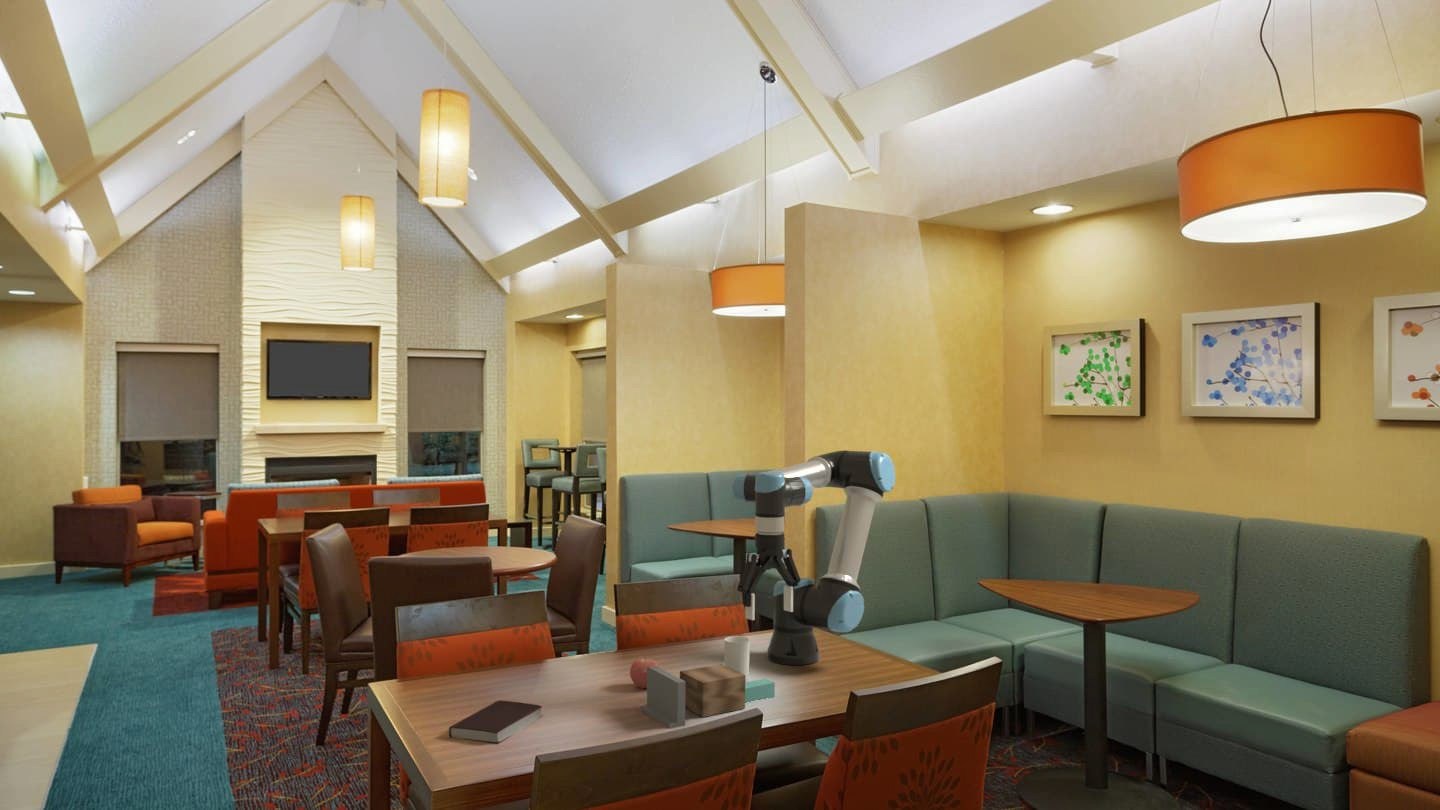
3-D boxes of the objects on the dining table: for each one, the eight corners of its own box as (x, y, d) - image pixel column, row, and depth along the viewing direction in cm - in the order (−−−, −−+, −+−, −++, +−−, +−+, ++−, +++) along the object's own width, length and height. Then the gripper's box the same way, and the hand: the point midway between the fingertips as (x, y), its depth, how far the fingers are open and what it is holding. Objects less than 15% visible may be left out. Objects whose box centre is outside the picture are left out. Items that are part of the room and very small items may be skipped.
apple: (663, 685, 236) (664, 654, 236) (650, 693, 229) (650, 662, 229) (639, 681, 239) (639, 651, 239) (624, 689, 232) (625, 658, 232)
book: (448, 739, 198) (448, 724, 198) (497, 711, 216) (497, 697, 216) (497, 747, 193) (497, 732, 193) (543, 717, 212) (543, 704, 212)
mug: (753, 687, 235) (754, 641, 235) (730, 690, 232) (730, 643, 232) (737, 676, 244) (737, 632, 244) (714, 679, 241) (715, 634, 242)
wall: (654, 706, 219) (654, 665, 219) (685, 724, 206) (685, 681, 206) (639, 709, 217) (639, 667, 217) (669, 728, 204) (670, 684, 204)
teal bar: (764, 693, 230) (765, 678, 230) (774, 698, 227) (774, 682, 227) (720, 703, 222) (720, 687, 223) (729, 708, 219) (729, 691, 219)
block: (720, 695, 227) (720, 664, 227) (745, 708, 218) (745, 675, 218) (679, 703, 221) (679, 671, 221) (702, 716, 211) (703, 682, 211)
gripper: (793, 526, 242) (793, 605, 242) (723, 535, 226) (723, 619, 226) (813, 529, 236) (813, 610, 236) (743, 539, 220) (743, 625, 220)
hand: (769, 615), depth 231 cm, fingers open, 13 cm apart
